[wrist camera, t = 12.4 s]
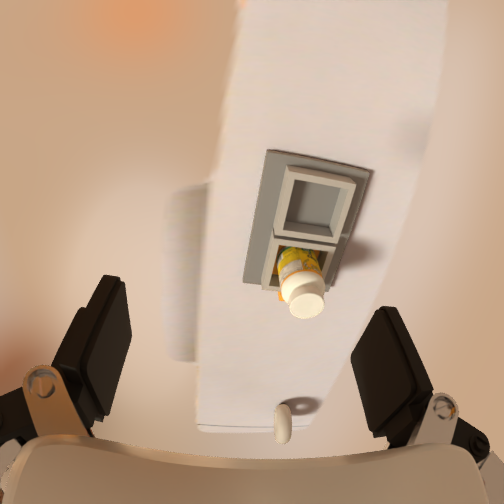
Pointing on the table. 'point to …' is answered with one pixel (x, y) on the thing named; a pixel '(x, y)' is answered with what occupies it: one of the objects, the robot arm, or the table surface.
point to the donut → (282, 424)
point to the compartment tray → (302, 214)
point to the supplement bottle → (301, 281)
